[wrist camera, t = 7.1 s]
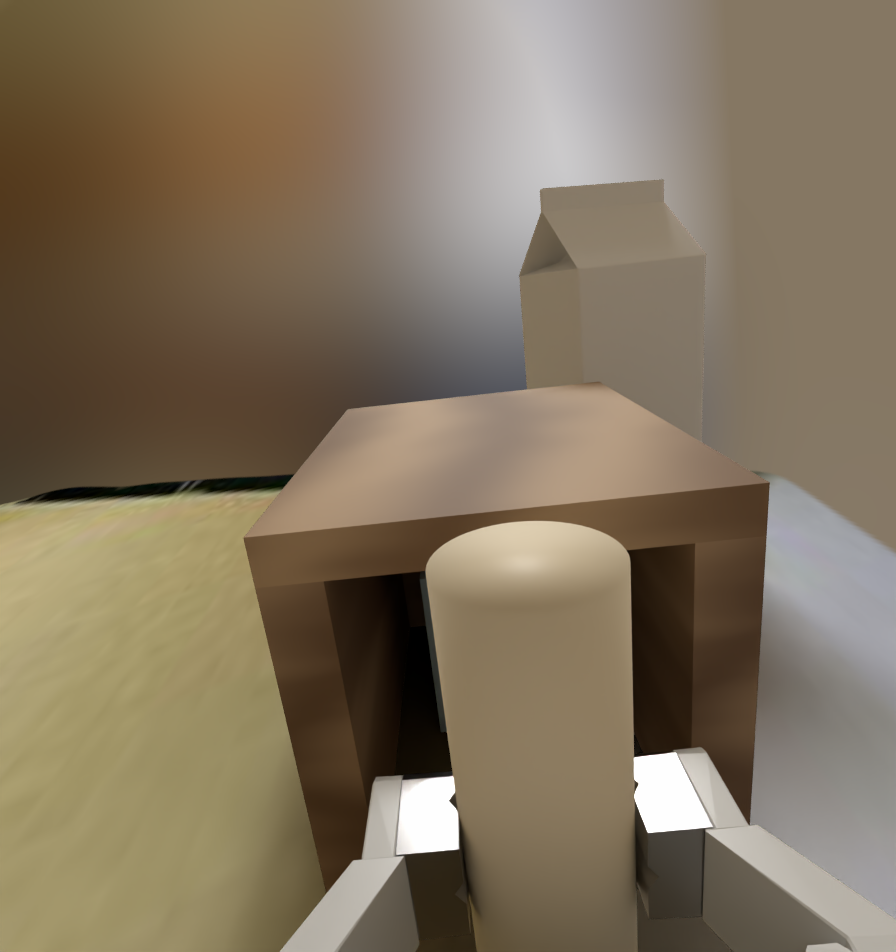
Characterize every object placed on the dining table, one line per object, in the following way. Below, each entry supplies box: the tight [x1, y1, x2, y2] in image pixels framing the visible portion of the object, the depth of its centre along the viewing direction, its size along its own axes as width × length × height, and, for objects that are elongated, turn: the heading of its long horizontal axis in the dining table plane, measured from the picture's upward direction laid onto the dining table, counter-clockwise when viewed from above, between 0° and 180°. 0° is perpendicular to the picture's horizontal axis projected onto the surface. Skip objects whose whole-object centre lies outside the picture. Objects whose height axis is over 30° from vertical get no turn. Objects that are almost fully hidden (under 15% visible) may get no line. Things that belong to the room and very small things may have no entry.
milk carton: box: [519, 180, 706, 442], centre depth 33 cm, size 7×7×19 cm
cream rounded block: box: [420, 521, 638, 952], centre depth 16 cm, size 5×16×11 cm, turn 0°
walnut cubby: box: [244, 382, 770, 893], centre depth 20 cm, size 11×14×10 cm
